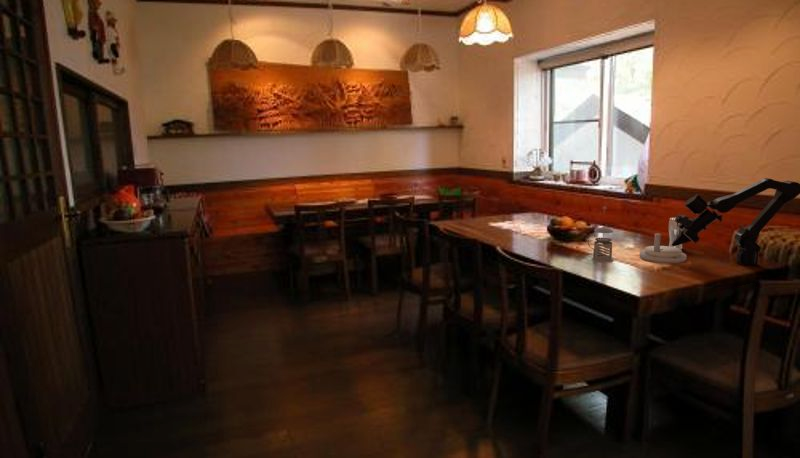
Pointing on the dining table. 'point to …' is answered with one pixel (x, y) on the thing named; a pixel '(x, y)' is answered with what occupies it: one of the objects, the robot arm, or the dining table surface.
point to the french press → (605, 243)
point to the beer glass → (674, 232)
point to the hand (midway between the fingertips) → (672, 245)
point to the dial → (662, 249)
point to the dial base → (663, 258)
